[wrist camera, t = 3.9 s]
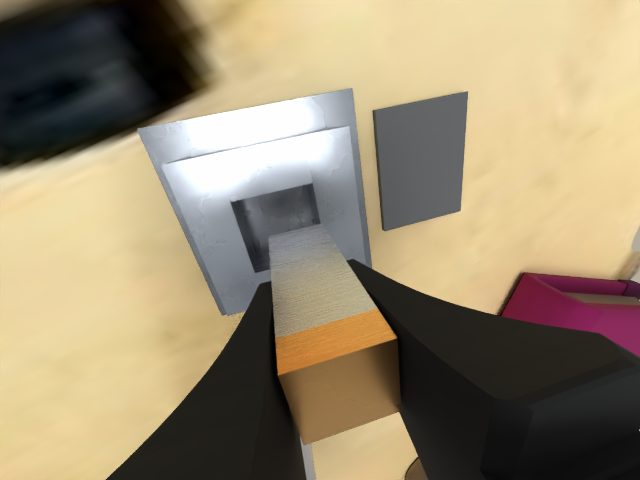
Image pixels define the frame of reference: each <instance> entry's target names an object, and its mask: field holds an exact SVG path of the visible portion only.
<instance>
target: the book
mask: <svg viewBox="0 0 640 480" xmlns="http://www.w3.org/2000/svg"><path fill="white" fill-rule="evenodd" d="M639 300H640V284H639V283H637V282H634V281H632V280H618V281H615V280H604V279H593V278H582V277H570V276H559V275H548V274H536V273H524V275H523V277H522V279H521V280H520V282H519V284H518V286H517V288H516V289H515V291H514V293H513V295H512V297H511V298H510V300H509V302H508V304H507V306H506V308H505V309H504V311H503V313H502V315H501V316H502V317H507V318H512V319H517V320H521V321H526V322H531V323H537V324H543V325H549V326H556V327H563V328H569V329H576V330H582V331H589V332H596V333H600V334H602V335H604V336H605V337H607V338H609V339H610V340H612V341H614V342H615V343H617V344H619V345H620V346H622V347H624V348H625V349H627V350H629V351H630V352H632V353H634V354H635V355H637V356H639V357H640V301H639Z"/></svg>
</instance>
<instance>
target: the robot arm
mask: <svg viewBox="0 0 640 480" xmlns="http://www.w3.org/2000/svg"><path fill="white" fill-rule="evenodd" d="M347 263H348V264H349V266H350V268H351V269H352V271H353V272H354V274H355V275H356V277H357V278H358V280H359V281H360V283H361V284H362V286H363V287H364V289H365V290H366V292H367V293H368V295H369V296H370V298H371V299H372V301H373V302H374V304H375V305H376V307H377V308H378V310H379V311H380V313H381V314H382V316H383V317H384V319H385V320H386V322H387V323H388V325H389V326H390V328H391V329H392V331H393V332H394V334H395V335H396V337H397V341H398V359H399V378H400V396H401V411H400V412H399V413H400V415H401V417H402V419H403V422H404V424H405V426H406V429H407V431H408V433H409V436H410V438H411V440H412V442H413V445H414V447H415V449H416V452H417V454H418V457H419V459H420V461H421V464H422V466H423V469H424V471H425V473H426V476H427V478H428V480H640V431H639V429H640V357H639V356H637V355H635V354H634V353H632V352H630V351H629V350H627V349H625V348H624V347H622V346H620V345H619V344H617V343H615V342H614V341H612V340H610V339H609V338H607V337H605V336H604V335H602V334H600V333H596V332H589V331H582V330H576V329H569V328H563V327H556V326H549V325H543V324H537V323H531V322H526V321H521V320H517V319H512V318H507V317H502V316H498V315H493V314H489V313H485V312H481V311H477V310H474V309H470V308H466V307H463V306H459V305H456V304H453V303H449V302H446V301H443V300H441V299H438V298H435V297H432V296H429V295H426V294H424V293H421V292H419V291H416V290H414V289H412V288H409V287H407V286H405V285H403V284H400V283H398V282H396V281H394V280H392V279H390V278H388V277H386V276H384V275H382V274H380V273H378V272H377V271H375V270H373V269H371V268H369V267H367V266H366V265H364V264H362V263H360V262H359V261H357V260H355V259H351V260H347ZM106 480H316V474H315V468H314V462H313V455H312V449H311V443H309V444H307V445H303V443H302V440H301V437H300V434H299V432H298V429H297V426H296V424H295V421H294V418H293V415H292V413H291V410H290V407H289V404H288V402H287V399H286V396H285V394H284V391H283V388H282V385H281V383H280V380H279V377H278V369H277V355H276V340H275V326H274V311H273V297H272V283H271V281H268V282H264V283H261V284H259V286H258V287H257V289H256V292H255V294H254V296H253V298H252V300H251V302H250V304H249V306H248V308H247V310H246V312H245V314H244V316H243V317H242V319H241V321H240V323H239V325H238V326H237V328H236V330H235V331H234V333H233V335H232V336H231V338H230V339H229V341H228V343H227V344H226V346H225V347H224V349H223V350H222V352H221V353H220V355H219V356H218V358H217V359H216V360H215V362H214V363H213V364H212V366H211V367H210V369H209V370H208V371H207V372H206V374H205V375H204V376H203V377H202V379H201V380H200V381H199V382H198V383H197V385H196V386H195V387H194V388H193V389H192V390H191V392H190V393H189V394H188V395H187V396H186V398H185V399H184V400H183V401H182V402H181V403H180V405H179V406H178V407H177V408H176V409H175V410H174V411H173V412H172V414H171V415H170V416H169V417H168V418H167V419H166V420H165V421H164V422H163V423H162V424H161V425H160V426H159V428H158V429H157V430H156V431H155V432H154V433H153V434H152V435H151V436H150V437H149V438H148V439H147V440H146V441H145V442H144V443H143V444H142V445H141V446H140V447H139V448H138V449H137V450H136V451H135V452H134V453H133V454H132V455H131V456H130V457H129V458H128V459H127V460H126V461H125V462H124V463H123V464H122V465H121V466H120V467H119V468H117V469H116V470H115V471H114V472H113V473H112V474H111V475H110V476H109V477H108V478H107V479H106Z"/></svg>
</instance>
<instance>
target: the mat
mask: <svg viewBox="0 0 640 480" xmlns="http://www.w3.org/2000/svg"><path fill="white" fill-rule="evenodd" d="M467 99H468V92H463V93H458V94H453V95H448V96H443V97H438V98H433V99H428V100H423V101H418V102H413V103H408V104H404V105H399V106H394V107H389V108H384V109H379V110H374V111H373V118H374V130H375V143H376V155H377V167H378V180H379V192H380V204H381V217H382V229H383V230H384V231H387V230H391V229H395V228H398V227H402V226H406V225H410V224H413V223H417V222H421V221H425V220H428V219H432V218H436V217H440V216H444V215H447V214H451V213H455V212H459V211H460V210H461V195H462V179H463V163H464V147H465V131H466V115H467Z"/></svg>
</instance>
